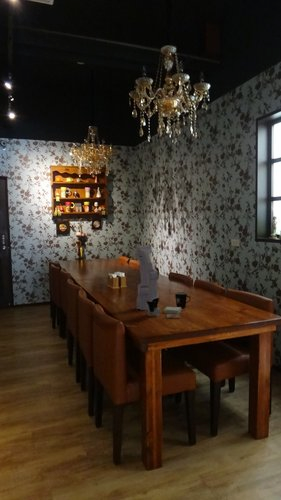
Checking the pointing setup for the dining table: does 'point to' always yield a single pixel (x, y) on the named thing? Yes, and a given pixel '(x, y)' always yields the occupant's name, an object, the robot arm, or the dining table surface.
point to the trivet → (172, 316)
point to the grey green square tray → (172, 310)
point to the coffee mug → (181, 299)
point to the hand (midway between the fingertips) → (153, 310)
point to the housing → (155, 313)
